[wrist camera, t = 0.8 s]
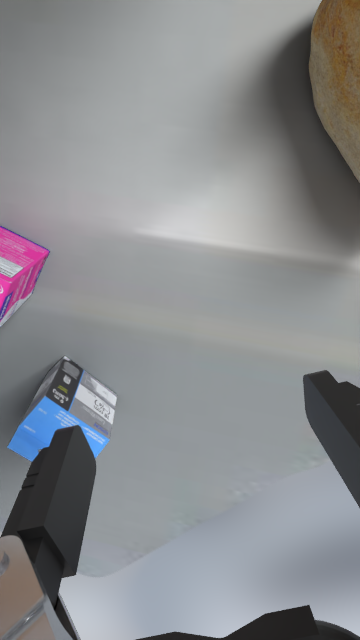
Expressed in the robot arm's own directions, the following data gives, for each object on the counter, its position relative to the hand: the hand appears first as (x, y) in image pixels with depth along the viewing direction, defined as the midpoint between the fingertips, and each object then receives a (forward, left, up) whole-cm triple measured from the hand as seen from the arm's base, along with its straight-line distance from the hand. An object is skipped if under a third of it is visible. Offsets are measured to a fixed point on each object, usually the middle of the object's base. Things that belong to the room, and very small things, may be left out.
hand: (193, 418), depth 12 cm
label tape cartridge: (+18, -10, -27) cm, 34 cm away
